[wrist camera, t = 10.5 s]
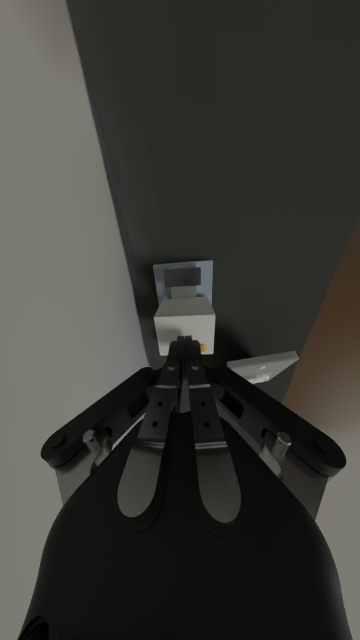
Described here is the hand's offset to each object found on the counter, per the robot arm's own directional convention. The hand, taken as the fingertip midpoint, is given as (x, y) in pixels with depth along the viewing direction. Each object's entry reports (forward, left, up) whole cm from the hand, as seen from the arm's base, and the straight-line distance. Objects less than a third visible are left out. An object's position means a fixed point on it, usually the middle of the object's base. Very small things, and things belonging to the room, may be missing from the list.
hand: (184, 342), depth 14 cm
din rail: (0, 0, -8) cm, 8 cm away
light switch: (+5, +15, -10) cm, 18 cm away
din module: (0, 0, -8) cm, 8 cm away
